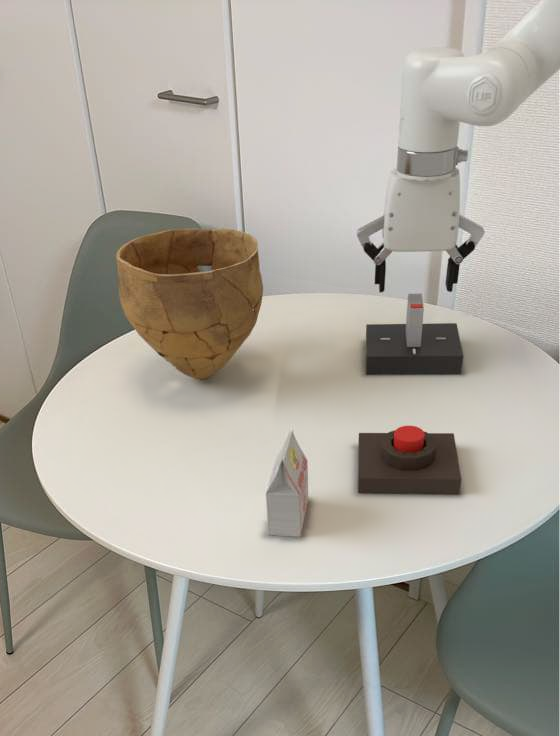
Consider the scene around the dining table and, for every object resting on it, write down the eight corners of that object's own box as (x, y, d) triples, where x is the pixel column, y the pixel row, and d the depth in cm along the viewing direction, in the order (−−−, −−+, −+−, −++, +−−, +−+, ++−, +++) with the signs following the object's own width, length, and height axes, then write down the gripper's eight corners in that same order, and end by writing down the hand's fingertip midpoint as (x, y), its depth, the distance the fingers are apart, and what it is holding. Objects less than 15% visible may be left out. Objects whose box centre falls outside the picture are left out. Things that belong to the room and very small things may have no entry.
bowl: (116, 368, 120) (91, 241, 107) (229, 335, 126) (218, 211, 113) (168, 426, 105) (146, 287, 93) (293, 385, 112) (288, 250, 99)
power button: (422, 437, 93) (423, 425, 92) (424, 453, 90) (425, 441, 89) (393, 437, 93) (393, 425, 92) (393, 453, 91) (394, 441, 90)
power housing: (451, 447, 97) (455, 420, 95) (459, 494, 90) (463, 466, 87) (358, 446, 99) (359, 420, 96) (357, 492, 91) (358, 465, 89)
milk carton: (268, 534, 86) (263, 462, 80) (278, 499, 91) (274, 428, 85) (300, 537, 86) (298, 464, 79) (308, 501, 91) (306, 430, 84)
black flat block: (454, 340, 120) (456, 322, 118) (461, 374, 112) (463, 354, 109) (365, 341, 122) (366, 323, 119) (365, 374, 113) (366, 355, 111)
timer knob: (405, 331, 117) (408, 292, 113) (418, 330, 116) (421, 291, 112) (407, 347, 113) (409, 307, 109) (420, 347, 112) (424, 307, 108)
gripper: (490, 151, 100) (473, 277, 111) (359, 155, 102) (355, 278, 113) (497, 167, 95) (478, 298, 106) (359, 171, 97) (354, 299, 108)
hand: (414, 288), depth 110 cm, fingers open, 9 cm apart
